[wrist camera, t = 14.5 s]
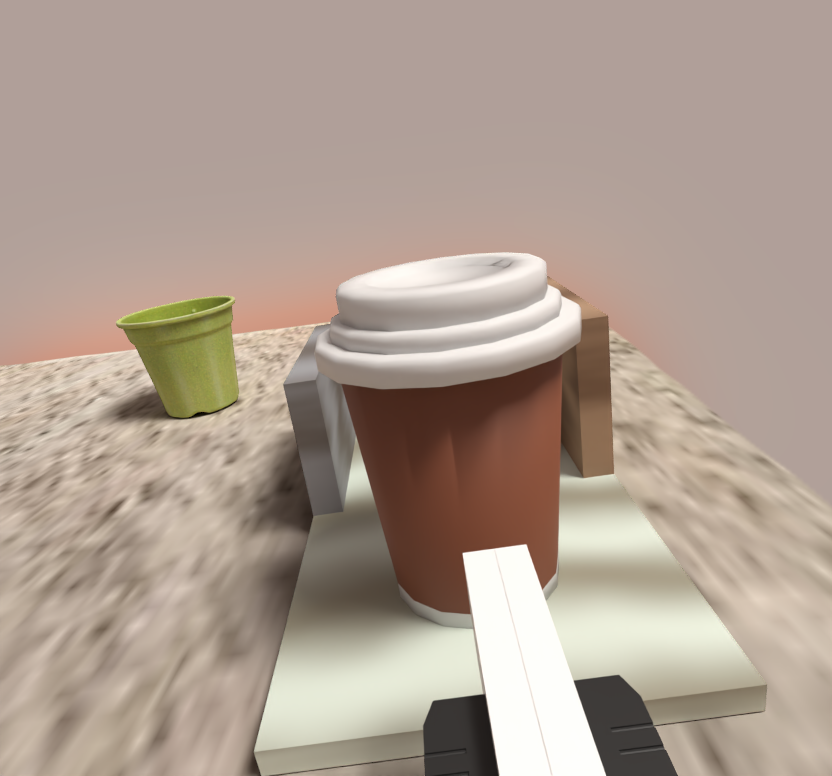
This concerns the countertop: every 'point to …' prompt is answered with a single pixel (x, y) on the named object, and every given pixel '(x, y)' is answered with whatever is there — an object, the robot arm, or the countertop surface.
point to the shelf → (455, 647)
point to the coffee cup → (456, 413)
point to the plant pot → (187, 353)
